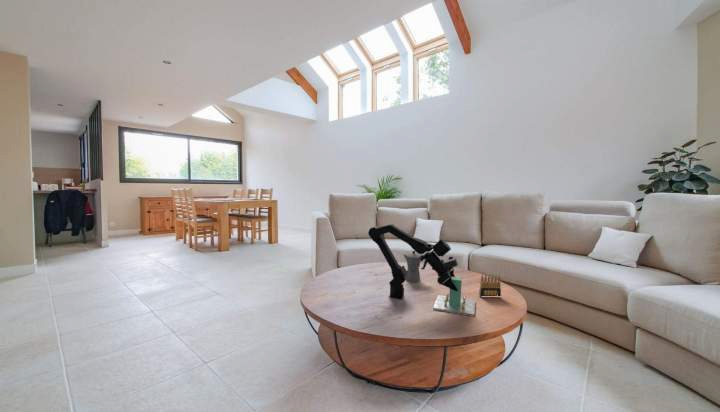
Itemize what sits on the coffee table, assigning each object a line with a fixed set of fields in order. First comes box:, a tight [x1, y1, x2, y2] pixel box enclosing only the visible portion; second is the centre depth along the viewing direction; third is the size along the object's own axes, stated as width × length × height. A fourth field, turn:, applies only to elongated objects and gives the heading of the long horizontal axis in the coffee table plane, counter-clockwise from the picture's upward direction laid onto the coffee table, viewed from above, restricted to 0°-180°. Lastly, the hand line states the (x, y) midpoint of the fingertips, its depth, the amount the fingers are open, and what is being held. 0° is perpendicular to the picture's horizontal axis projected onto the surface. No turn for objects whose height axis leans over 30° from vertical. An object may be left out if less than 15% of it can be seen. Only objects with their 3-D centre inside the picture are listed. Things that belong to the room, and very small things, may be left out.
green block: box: [448, 276, 463, 306], centre depth 145 cm, size 5×5×12 cm
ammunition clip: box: [478, 274, 502, 297], centre depth 157 cm, size 11×2×12 cm, turn 90°
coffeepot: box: [402, 250, 428, 283], centre depth 183 cm, size 15×9×18 cm, turn 62°
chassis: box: [432, 293, 476, 317], centre depth 145 cm, size 18×18×4 cm
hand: (457, 287), depth 144 cm, fingers open, 9 cm apart
